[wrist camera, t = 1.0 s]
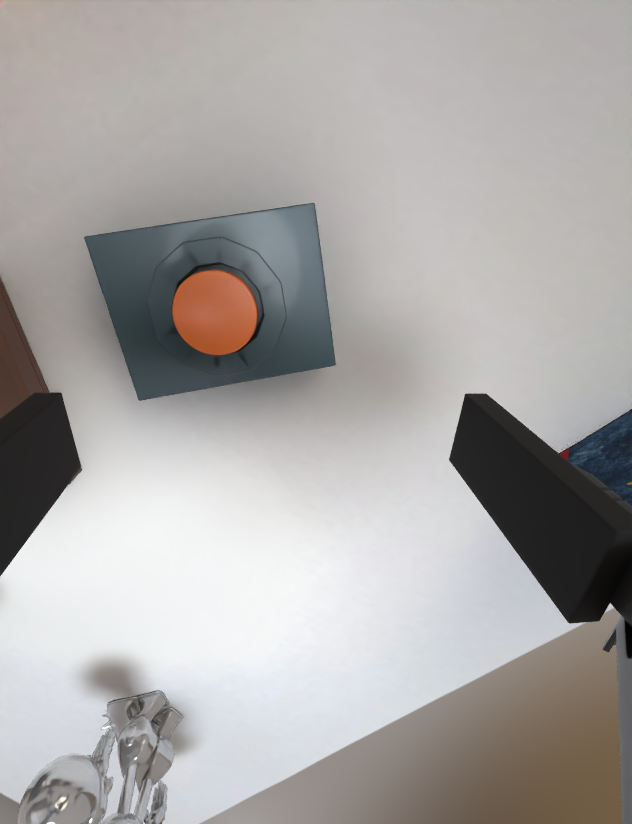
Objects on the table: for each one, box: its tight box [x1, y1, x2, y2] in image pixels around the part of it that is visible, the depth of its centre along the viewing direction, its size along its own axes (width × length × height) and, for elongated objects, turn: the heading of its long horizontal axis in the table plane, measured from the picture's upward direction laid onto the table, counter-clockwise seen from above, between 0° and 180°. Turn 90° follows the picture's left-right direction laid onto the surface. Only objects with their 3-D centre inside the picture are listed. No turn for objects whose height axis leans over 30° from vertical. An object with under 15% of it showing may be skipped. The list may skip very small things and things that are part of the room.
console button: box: [172, 270, 258, 355], centre depth 20 cm, size 4×4×2 cm
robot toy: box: [17, 691, 183, 824], centre depth 29 cm, size 15×6×15 cm, turn 20°
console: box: [84, 203, 336, 400], centre depth 22 cm, size 12×9×5 cm
